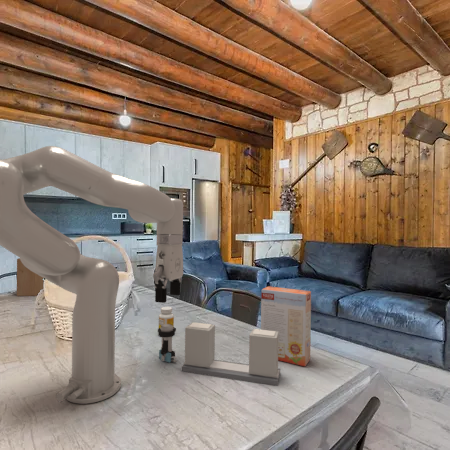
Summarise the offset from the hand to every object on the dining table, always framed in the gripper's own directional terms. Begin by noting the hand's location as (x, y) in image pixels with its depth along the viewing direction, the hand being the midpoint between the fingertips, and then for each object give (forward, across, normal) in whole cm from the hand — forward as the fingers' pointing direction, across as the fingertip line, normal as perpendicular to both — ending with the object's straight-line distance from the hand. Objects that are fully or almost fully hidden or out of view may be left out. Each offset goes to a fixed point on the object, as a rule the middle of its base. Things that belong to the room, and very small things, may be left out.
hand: (168, 298), depth 93 cm
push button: (+18, 0, 0) cm, 18 cm away
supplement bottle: (+18, +19, +9) cm, 28 cm away
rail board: (+18, -2, -20) cm, 27 cm away
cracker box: (+18, +12, -34) cm, 40 cm away
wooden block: (+18, +53, +106) cm, 120 cm away
